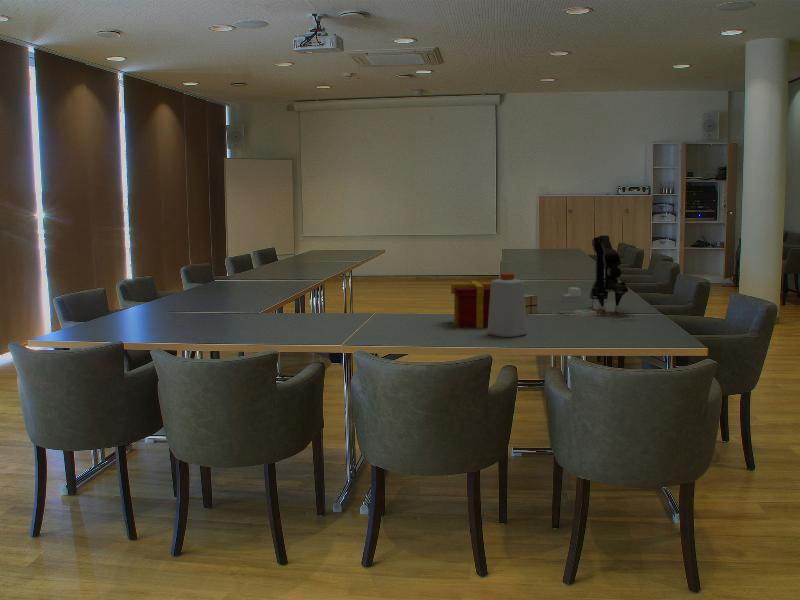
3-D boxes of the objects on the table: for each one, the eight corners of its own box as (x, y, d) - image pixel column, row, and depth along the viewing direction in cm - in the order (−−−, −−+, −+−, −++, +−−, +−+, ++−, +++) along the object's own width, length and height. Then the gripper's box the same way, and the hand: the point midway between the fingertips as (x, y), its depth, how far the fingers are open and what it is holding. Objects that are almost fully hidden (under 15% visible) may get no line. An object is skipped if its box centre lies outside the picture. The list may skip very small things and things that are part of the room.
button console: (574, 316, 416) (574, 310, 415) (587, 315, 419) (587, 309, 418) (583, 318, 408) (583, 312, 408) (596, 317, 411) (596, 311, 411)
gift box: (506, 328, 382) (506, 286, 379) (454, 329, 380) (454, 286, 378) (497, 320, 406) (497, 280, 404) (448, 320, 405) (448, 281, 402)
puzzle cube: (510, 313, 427) (511, 295, 426) (524, 312, 433) (524, 293, 432) (524, 316, 419) (524, 297, 418) (537, 314, 425) (537, 295, 424)
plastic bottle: (505, 330, 374) (506, 271, 370) (530, 334, 363) (531, 273, 359) (483, 334, 364) (483, 273, 361) (508, 338, 353) (508, 276, 349)
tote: (551, 314, 423) (551, 312, 422) (568, 313, 427) (568, 311, 426) (562, 317, 412) (562, 315, 412) (580, 315, 417) (580, 313, 416)
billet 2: (604, 313, 415) (605, 300, 414) (613, 314, 414) (614, 300, 413) (605, 315, 411) (605, 301, 410) (614, 315, 410) (614, 301, 409)
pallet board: (586, 314, 423) (586, 309, 423) (601, 312, 427) (601, 307, 426) (606, 318, 407) (606, 313, 406) (622, 317, 410) (623, 312, 410)
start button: (580, 315, 414) (580, 309, 414) (586, 314, 416) (586, 309, 416) (584, 316, 411) (584, 310, 410) (590, 315, 412) (591, 310, 412)
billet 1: (592, 312, 422) (593, 298, 421) (600, 311, 424) (600, 298, 423) (598, 313, 418) (598, 299, 417) (605, 312, 419) (605, 299, 418)
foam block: (559, 301, 479) (559, 287, 478) (576, 301, 480) (576, 287, 479) (563, 303, 470) (564, 289, 469) (581, 303, 470) (581, 289, 469)
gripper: (605, 278, 399) (604, 309, 401) (635, 277, 406) (634, 307, 408) (591, 276, 409) (591, 306, 411) (621, 275, 416) (620, 304, 418)
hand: (609, 306), depth 412 cm, fingers open, 9 cm apart
